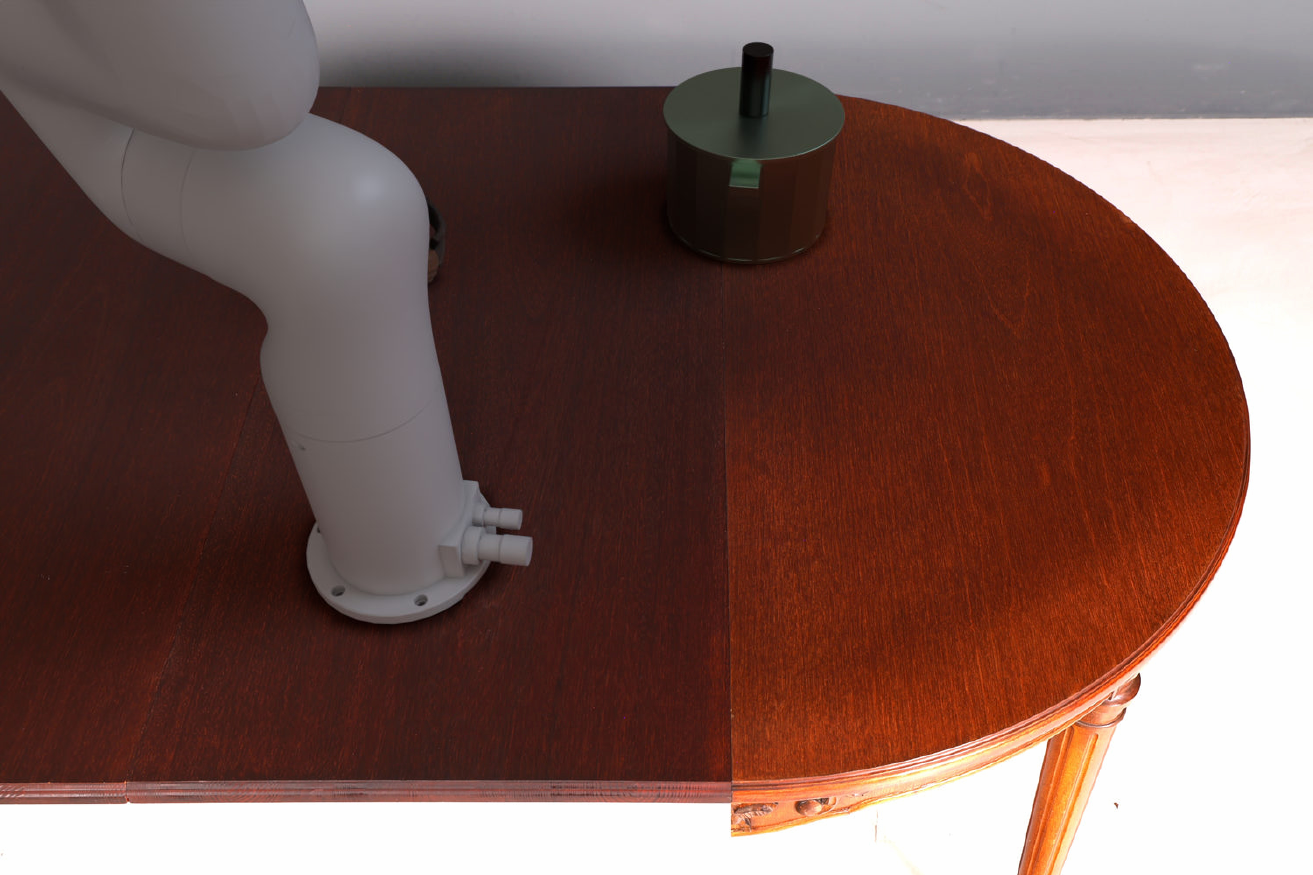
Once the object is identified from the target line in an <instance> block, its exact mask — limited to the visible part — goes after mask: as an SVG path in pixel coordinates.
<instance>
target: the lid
mask: <svg viewBox="0 0 1313 875" xmlns="http://www.w3.org/2000/svg"><path fill="white" fill-rule="evenodd" d="M774 55H775V49H774V47H773V46H772V45H771V44H769V43H767V42H762V41H753V42H748V43H745V45H743V46H742V49H741V65H740V66H733V67H725V68H718V69H713V70H709V71H706V72H705V71H704V72H703V73H702V72H701V73H700V74H697V75H694V76H692V77H690V78H687V79H686V80H684V81H683V82H680V83H679V84H678V85H677V86H675V87H674V88H673V89H672V90H671V91H670V92H669V94H668V95H667V97H666V98H665V101H664V103H663V110H662V115H663V122H664V124H665V127H666V129H667V131H668V130H669V132H670V133H671V134H672V135H673V136H674V137H675V138H676V139H677V140H678V141H679V142H681V143H682V144H683V145H685V146H687V147H688V148H690V149H692V150H694V151H696V152H698V153H700V154H703V155H706V156H709V157H712V158H716V159H719V160H724V161H729V162H735V163H744V164H774V163H784V162H789V161H794V160H798V159H802V158H805V157H808V156H811V155H813V154H816V153H818V152H819V151H821V150H823V149H825V148H826V147H828V146H829V145H831V144H832V143H833V142H834V141H835V140H836V139H837V140H838V138H839V137H840V135H841V133H842V131H843V129H844V126H845V119H846V114H845V108H844V106H843V104H842V102H841V100H840V99H839V97H838V96H836V94H835V93H834V92H833V91H832V90H830V89H829V88H828V87H826V85H824V84H822V83H820V82H818V81H816V80H815V79H813V78H810V77H808V76H805V75H803V74H800V73H796V72H793V71H788V70H785V69H780V68H773V66H774ZM837 140H836V141H837Z"/></svg>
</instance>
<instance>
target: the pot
mask: <svg viewBox="0 0 1313 875" xmlns="http://www.w3.org/2000/svg"><path fill="white" fill-rule="evenodd" d="M837 140H838V138H837V139H836V140H835V141H834V142H833V143H832V144H831V145H829V146H828V147H826V148H825V149H823V150H821V151H819V152H818V153H816V154H813V155H811V156H808V157H805V158H802V159H798V160H794V161H789V162H784V163H774V164H744V163H735V162H729V161H724V160H719V159H716V158H712V157H709V156H706V155H703V154H700V153H698V152H696V151H694V150H692V149H690V148H688V147H687V146H685V145H683V144H682V143H681V142H679V141H678V140H677V139H676V138H675V137H674V136H673V135H672V134H671V133H670V132H669V130H668V129H667V142H666V143H667V144H666V145H667V156H666V158H667V159H666V161H667V162H666V164H667V166H666V216H667V218H668V219H667V220H668V224H669V227H670V230H671V231H672V233H673V235H674V236H675V237H676V238H677V240H678V241H680V242H681V243H682V244H683V245H684V246H685V247H687V248H689V249H690V251H693V252H695V253H696V254H699V255H701V256H704V257H706V258H708V259H712V260H715V261H719V262H724V263H728V264H734V265H736V264H737V265H747V266H748V265H749V266H750V265H751V266H752V265H766V264H774V263H777V262H782V261H785V260H788V259H789V260H790V259H791V258H794V257H796V256H799V255H801V254H802V253H804V252H805V251H807V250H809V249H810V248H811V247H812V246H814V244H815V243H816V242H817V241H818V240H819V238H820V237H821V235H822V233H823V231H824V229H825V226H826V219H827V211H828V204H829V196H830V190H831V183H832V175H833V168H834V161H835V153H836V147H837Z"/></svg>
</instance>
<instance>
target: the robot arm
mask: <svg viewBox="0 0 1313 875" xmlns="http://www.w3.org/2000/svg"><path fill="white" fill-rule="evenodd" d="M315 32H316V31H315V29H314V27H313V23H312V20H311V17H310V15H309V13H308V10H307V7H306V4H305V2H304V0H0V92H1V93H2V94H3V95H4V97H5V98H6V99H7V100H8V101H9V103H10V104H11V105H12V106H13V107H14V109H15V110H16V111H17V113H18V114H19V115H20V116H21V118H22V119H23V120H24V121H25V122H26V123H27V125H28V126H29V127H30V129H32V131H33V132H34V134H35V135H36V136H37V137H38V138H39V140H40V141H41V142H42V144H44V146H45V147H46V148H47V149H48V150H49V151H50V153H51V154H52V155H53V157H54V158H55V159H56V160H57V162H58V163H59V164H60V165H61V166H62V168H63V169H64V170H65V171H66V172H67V173H68V175H69V176H70V177H71V178H72V180H73V181H74V182H75V183H76V184H77V186H79V188H80V189H81V191H83V193H84V194H85V195H86V197H87V198H89V200H90V201H91V202H92V203H93V204H94V205H95V207H96V208H97V209H98V210H99V211H100V212H101V213H102V214H103V215H104V216H105V217H106V218H107V219H108V220H109V221H110V222H111V223H112V224H114V226H115V227H117V228H118V229H119V230H120V231H122V232H123V233H124V234H125V235H127V236H128V237H130V239H132V240H133V241H135V242H137V243H138V244H140V245H142V246H144V247H146V248H148V249H149V250H151V251H153V252H155V253H157V254H159V255H161V256H163V257H165V258H168V259H170V260H172V261H174V262H176V263H178V264H180V265H183V266H185V267H188V268H189V269H191V270H194V271H196V272H199V273H200V274H202V275H204V276H207V277H209V278H210V279H212V281H215V282H217V283H219V284H221V285H223V286H224V287H227V288H230V289H231V290H234V291H236V292H237V293H239V294H241V295H243V296H245V297H246V298H248V300H250V301H251V302H253V303H254V304H255V306H256V307H257V308H258V309H259V310H260V311H261V312H262V314H263V316H264V317H265V321H266V324H267V331H266V334H265V337H264V338H263V341H262V344H261V347H260V351H259V352H260V354H259V365H260V373H261V377H262V381H263V384H264V387H265V390H266V393H267V396H268V398H269V401H270V404H271V407H272V409H273V411H274V414H275V416H276V418H277V421H278V423H279V426H280V429H281V431H282V434H283V436H284V440H285V442H286V444H287V447H288V450H289V453H290V455H291V458H292V460H293V463H294V466H295V468H296V470H297V471H296V472H297V473H298V474H297V475H298V476H299V480H300V482H301V484H302V487H303V490H304V492H305V494H306V497H307V500H308V503H309V505H310V508H311V511H312V514H313V516H314V518H315V523H314V524H313V527H312V529H311V532H310V534H309V536H308V540H307V546H306V552H305V554H306V555H305V556H306V565H307V570H308V573H309V575H310V578H311V581H312V583H313V585H314V587H315V589H316V591H317V593H318V594H319V595H320V596H321V598H322V599H324V601H325V602H326V603H327V604H328V605H329V606H331V607H332V608H333V609H335V610H336V611H338V612H339V613H340V614H343V615H345V616H347V617H349V618H352V619H355V620H356V621H361V622H366V623H372V624H381V625H386V624H387V625H397V624H403V623H404V624H405V623H412V622H415V621H419V620H423V619H426V618H429V617H433V616H435V615H437V614H438V613H441V612H443V611H445V610H447V609H449V608H451V607H452V606H454V605H455V604H457V603H458V602H460V601H462V600H463V599H464V597H465V595H466V593H468V592H469V591H470V590H471V589H472V588H474V587H475V585H476V584H477V583H478V582H479V581H480V579H481V578H482V577H483V575H484V574H485V573H486V571H487V569H488V567H489V566H490V564H491V562H496V563H500V564H502V565H510V566H511V565H512V566H519V567H520V566H521V567H529V565H530V563H531V561H532V556H533V555H532V554H533V548H534V547H533V546H534V544H533V542H534V541H533V538H532V536H524V535H515V534H509V533H508V534H507V533H506V534H497V528H499V529H504V530H514V531H520V529H521V528H522V523H523V510H522V509H519V508H508V507H501V508H499V507H491V505H490V504H489V502H488V501H487V500H486V498H485V496H484V495H483V494H482V493H481V490H480V485H479V482H478V481H476V480H468V479H464V478H463V473H462V470H461V464H460V459H459V454H458V449H457V444H456V440H455V435H454V434H455V433H454V429H453V425H452V420H451V416H450V410H449V406H448V401H447V397H446V396H447V395H446V391H445V386H444V381H443V377H442V372H441V367H440V363H439V358H438V354H437V350H436V344H435V338H434V333H433V327H432V322H431V313H430V312H431V311H430V305H429V304H430V303H429V290H428V288H429V287H428V284H427V272H428V251H429V248H430V223H429V214H428V207H427V202H426V199H425V197H426V195H425V194H424V190H423V188H422V186H421V184H420V182H419V180H418V179H417V177H416V176H415V174H414V173H413V171H412V170H410V168H409V167H408V166H407V164H405V162H403V161H402V159H400V158H399V157H398V156H397V155H396V154H395V153H394V152H392V151H390V150H389V149H387V148H386V147H385V145H382V144H381V143H379V142H378V141H376V140H374V139H372V138H370V137H369V136H367V135H365V134H363V133H361V132H359V131H357V130H355V129H352V128H350V127H348V126H346V125H344V124H341V123H338V122H335V121H333V120H330V119H327V118H325V117H322V116H319V115H316V114H313V113H311V112H310V111H311V109H312V108H313V105H314V103H315V100H316V98H317V95H318V91H319V87H320V79H321V61H320V60H321V59H320V53H319V48H318V43H317V37H316V33H315Z"/></svg>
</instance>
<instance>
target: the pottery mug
mask: <svg viewBox="0 0 1313 875" xmlns="http://www.w3.org/2000/svg"><path fill="white" fill-rule="evenodd" d="M425 199H426V202H427V207H428V214H429V225H430V226H431V227H432V229H433V230H434V234H433V235H432V236H431V237H430V238H429V251H428V272H427V285H428V284H430V283H432V282H433V281H434V278H435V276H436V275H438V268H441V267H442V266H443V262H444V259H445V254H446V241H445V237H446V235H447V234H446V233H447V223H446V220H445V219H444V215H443V214H442V212H441V211H440V210H439V208H438V207H437V205H436V204H435V203H434V202H432V200H431V199H429V198H428V197H426V196H425Z"/></svg>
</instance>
